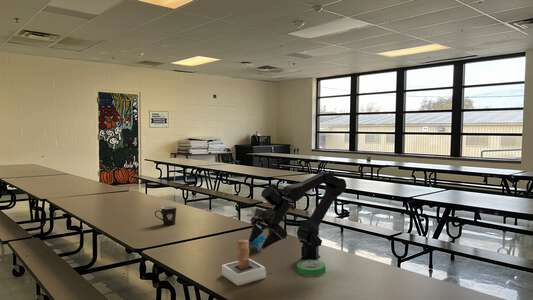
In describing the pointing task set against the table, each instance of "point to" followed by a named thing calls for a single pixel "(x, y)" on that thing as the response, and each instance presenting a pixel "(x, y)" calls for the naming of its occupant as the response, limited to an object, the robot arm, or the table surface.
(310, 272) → the tape roll
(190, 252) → the table surface
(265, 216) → the robot arm
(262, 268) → the bore box
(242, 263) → the peg
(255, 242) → the blue figurine
